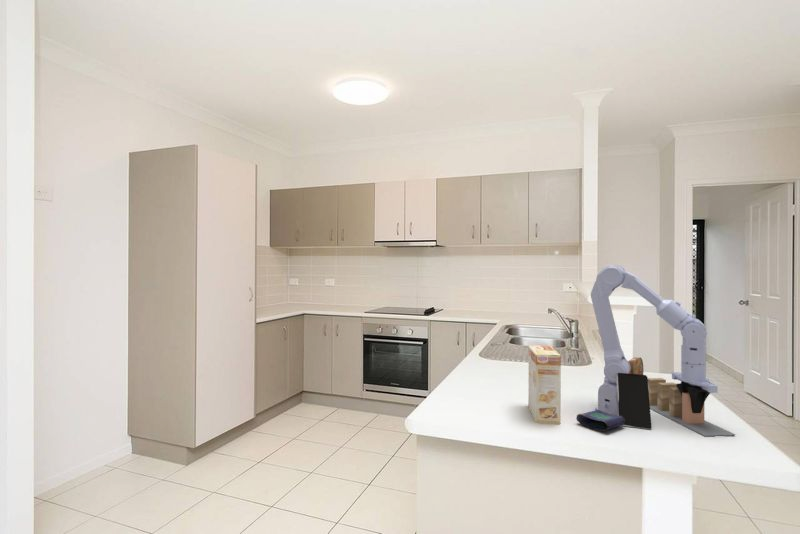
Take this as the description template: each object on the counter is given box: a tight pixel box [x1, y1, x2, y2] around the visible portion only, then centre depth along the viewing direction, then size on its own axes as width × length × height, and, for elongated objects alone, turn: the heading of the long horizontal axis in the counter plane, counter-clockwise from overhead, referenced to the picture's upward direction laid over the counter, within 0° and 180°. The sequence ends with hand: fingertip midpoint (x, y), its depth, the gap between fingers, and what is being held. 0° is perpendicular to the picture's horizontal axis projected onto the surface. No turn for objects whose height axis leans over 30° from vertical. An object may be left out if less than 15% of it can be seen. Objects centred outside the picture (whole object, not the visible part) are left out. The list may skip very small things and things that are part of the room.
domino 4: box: [682, 393, 705, 424], centre depth 121 cm, size 2×5×8 cm, turn 94°
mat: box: [650, 405, 737, 438], centre depth 129 cm, size 34×8×1 cm, turn 4°
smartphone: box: [616, 373, 652, 430], centre depth 121 cm, size 8×1×15 cm
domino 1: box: [647, 377, 667, 406], centre depth 137 cm, size 2×5×8 cm, turn 94°
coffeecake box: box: [527, 344, 562, 425], centre depth 128 cm, size 15×7×20 cm, turn 171°
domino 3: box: [669, 387, 682, 417], centre depth 126 cm, size 2×5×8 cm, turn 95°
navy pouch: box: [576, 410, 625, 432], centre depth 119 cm, size 9×3×11 cm
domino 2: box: [657, 381, 677, 411], centre depth 131 cm, size 2×5×8 cm, turn 95°
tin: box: [627, 357, 644, 375], centre depth 167 cm, size 15×3×8 cm, turn 139°
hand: (693, 411), depth 121 cm, fingers closed on domino 4, 2 cm apart
